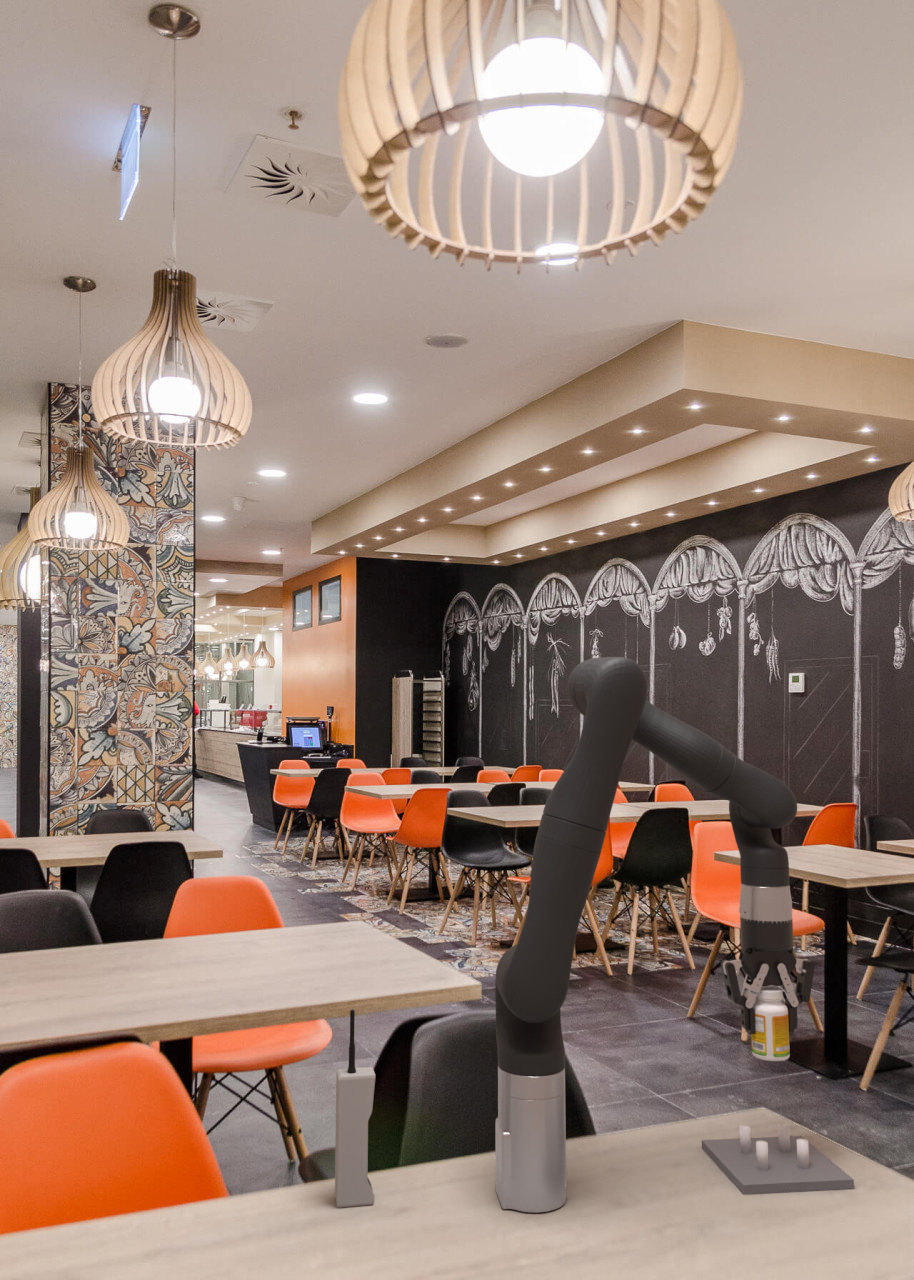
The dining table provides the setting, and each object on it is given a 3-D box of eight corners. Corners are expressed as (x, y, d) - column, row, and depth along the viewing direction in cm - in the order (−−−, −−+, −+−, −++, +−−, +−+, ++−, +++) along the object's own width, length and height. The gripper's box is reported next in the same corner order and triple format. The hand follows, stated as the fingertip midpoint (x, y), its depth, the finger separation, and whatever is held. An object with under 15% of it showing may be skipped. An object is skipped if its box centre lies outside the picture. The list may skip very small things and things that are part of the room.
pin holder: (743, 1194, 137) (742, 1158, 137) (701, 1148, 152) (700, 1116, 153) (854, 1188, 138) (852, 1153, 139) (801, 1143, 154) (800, 1111, 155)
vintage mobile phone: (374, 1205, 133) (376, 1011, 136) (336, 1208, 132) (339, 1013, 135) (371, 1193, 137) (373, 1004, 140) (334, 1196, 136) (337, 1006, 139)
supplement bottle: (790, 1053, 149) (787, 985, 150) (789, 1063, 144) (787, 993, 145) (752, 1049, 150) (750, 983, 151) (750, 1059, 145) (748, 991, 146)
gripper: (729, 920, 145) (732, 1041, 143) (823, 918, 146) (828, 1038, 145) (710, 911, 152) (713, 1026, 150) (800, 910, 154) (804, 1024, 152)
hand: (769, 1031), depth 147 cm, fingers closed on supplement bottle, 5 cm apart
